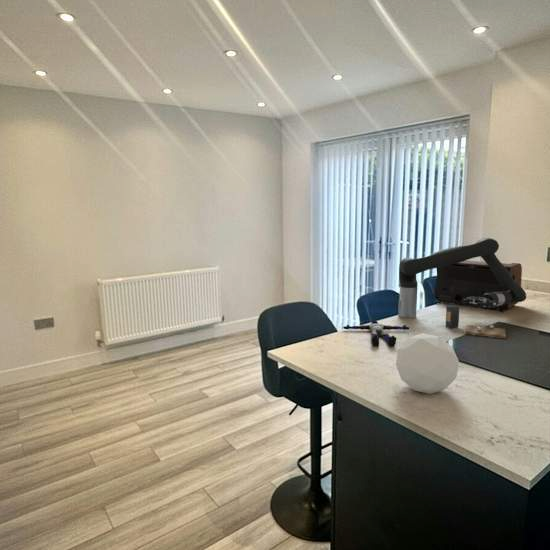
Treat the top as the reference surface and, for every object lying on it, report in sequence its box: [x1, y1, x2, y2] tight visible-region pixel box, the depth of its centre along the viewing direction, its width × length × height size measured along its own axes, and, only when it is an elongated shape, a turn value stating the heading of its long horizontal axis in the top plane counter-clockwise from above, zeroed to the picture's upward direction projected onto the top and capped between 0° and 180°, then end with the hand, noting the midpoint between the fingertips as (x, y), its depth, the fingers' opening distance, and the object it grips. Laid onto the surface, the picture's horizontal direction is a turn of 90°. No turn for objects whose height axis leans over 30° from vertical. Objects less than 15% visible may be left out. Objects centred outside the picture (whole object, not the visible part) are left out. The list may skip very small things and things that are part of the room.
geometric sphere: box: [395, 332, 460, 395], centre depth 132 cm, size 19×20×20 cm
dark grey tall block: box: [445, 304, 461, 330], centre depth 201 cm, size 5×4×11 cm
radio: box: [433, 260, 523, 313], centre depth 245 cm, size 45×32×28 cm
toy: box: [342, 319, 410, 348], centre depth 190 cm, size 33×6×30 cm
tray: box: [464, 324, 507, 340], centre depth 191 cm, size 17×12×4 cm
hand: (470, 303), depth 204 cm, fingers open, 8 cm apart
